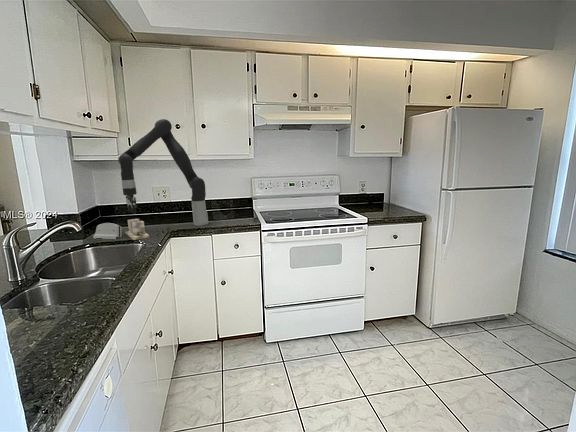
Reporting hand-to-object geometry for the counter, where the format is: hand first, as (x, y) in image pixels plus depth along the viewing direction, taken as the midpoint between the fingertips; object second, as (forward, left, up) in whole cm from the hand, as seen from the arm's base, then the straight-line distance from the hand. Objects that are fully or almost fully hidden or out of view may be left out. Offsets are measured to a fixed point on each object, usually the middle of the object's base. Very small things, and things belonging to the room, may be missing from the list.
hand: (132, 212), depth 199 cm
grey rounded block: (+14, -5, -14) cm, 21 cm away
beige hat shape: (0, +4, -14) cm, 15 cm away
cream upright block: (0, 0, -12) cm, 12 cm away
